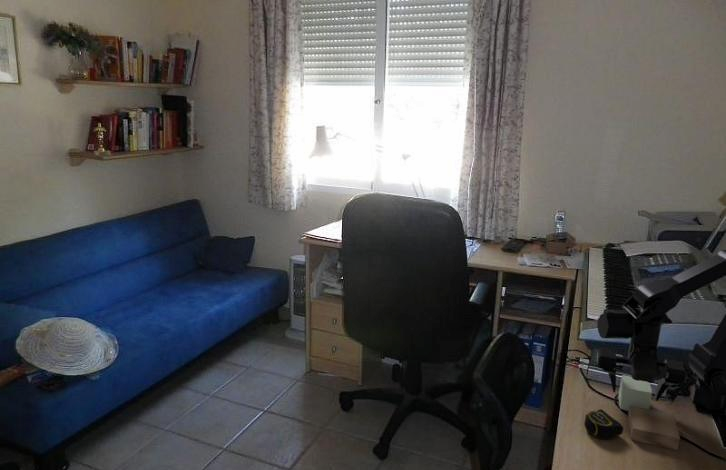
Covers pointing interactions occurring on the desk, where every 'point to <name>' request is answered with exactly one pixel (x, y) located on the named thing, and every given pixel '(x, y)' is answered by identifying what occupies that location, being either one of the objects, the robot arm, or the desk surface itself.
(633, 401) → the sage block
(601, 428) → the tape measure
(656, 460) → the desk surface
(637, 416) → the tan square block
